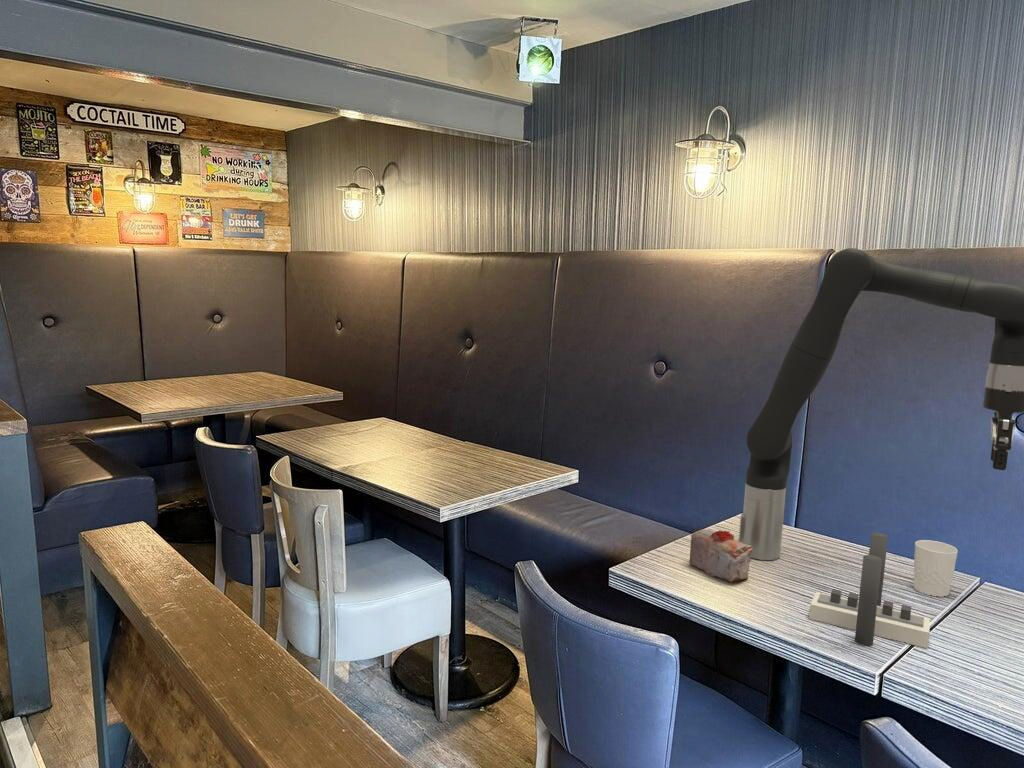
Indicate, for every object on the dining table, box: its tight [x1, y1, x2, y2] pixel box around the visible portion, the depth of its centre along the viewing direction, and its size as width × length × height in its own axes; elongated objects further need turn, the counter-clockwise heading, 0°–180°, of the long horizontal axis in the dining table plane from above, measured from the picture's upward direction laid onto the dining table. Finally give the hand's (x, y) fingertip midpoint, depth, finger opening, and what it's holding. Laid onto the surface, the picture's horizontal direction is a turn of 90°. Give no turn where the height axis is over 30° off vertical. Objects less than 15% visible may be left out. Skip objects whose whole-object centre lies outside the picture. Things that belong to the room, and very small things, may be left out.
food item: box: [688, 529, 753, 583], centre depth 159 cm, size 14×8×10 cm, turn 36°
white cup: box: [913, 539, 958, 598], centre depth 153 cm, size 8×8×10 cm
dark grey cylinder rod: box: [868, 531, 889, 607], centre depth 141 cm, size 3×3×16 cm
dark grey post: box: [854, 554, 882, 647], centre depth 129 cm, size 3×3×16 cm
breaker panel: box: [808, 588, 931, 649], centre depth 136 cm, size 20×7×5 cm, turn 58°
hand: (997, 465), depth 145 cm, fingers open, 8 cm apart
